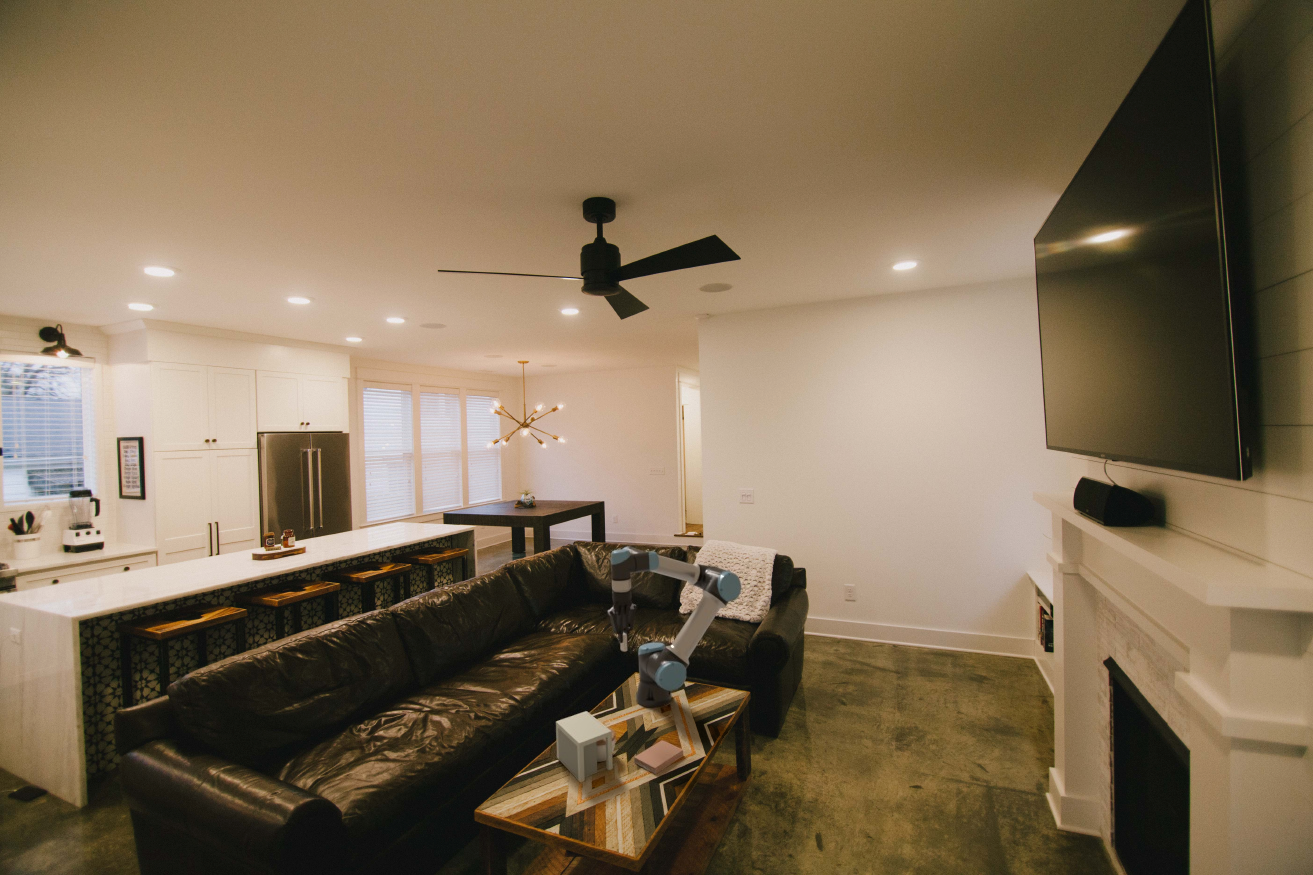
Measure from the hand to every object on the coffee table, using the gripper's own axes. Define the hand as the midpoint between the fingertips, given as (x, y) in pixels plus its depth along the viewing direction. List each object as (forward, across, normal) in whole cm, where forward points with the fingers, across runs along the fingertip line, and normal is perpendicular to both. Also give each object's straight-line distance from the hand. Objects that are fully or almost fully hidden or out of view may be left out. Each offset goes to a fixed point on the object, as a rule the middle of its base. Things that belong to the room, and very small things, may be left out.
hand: (623, 650), depth 211 cm
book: (+29, +4, +28) cm, 40 cm away
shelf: (+28, +26, +14) cm, 41 cm away
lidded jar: (+29, +19, +14) cm, 37 cm away
